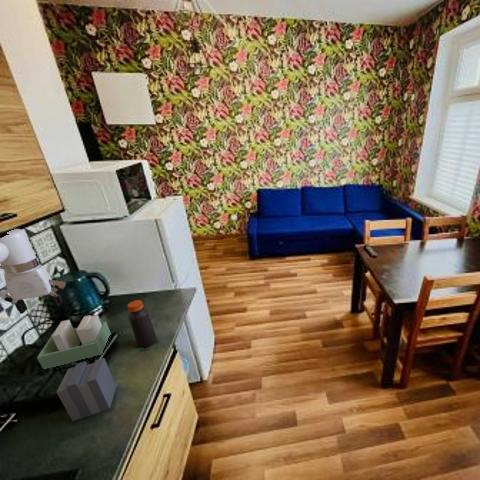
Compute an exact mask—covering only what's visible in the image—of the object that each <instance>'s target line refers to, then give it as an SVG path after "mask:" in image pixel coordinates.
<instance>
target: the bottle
mask: <svg viewBox="0 0 480 480" xmlns="http://www.w3.org/2000/svg"><path fill="white" fill-rule="evenodd" d="M127 309H128V312H129V314H128V316H127V317H128V321H129V324H130V326H131V330H132V333H133V337H134V339H135V341H136V344H137V346H138V348H141V349H147V348H150V347H152V346H153V345H154V344H155V343H156V342H157V339H158V338H157V335H156V332H155V329H154V325H153V322H152V319H151V316H150V313H149V310H148V309H147V308H144V303H143V301H142V300H140V299H136V300H133V301H130V302H129V303H128V304H127Z"/></svg>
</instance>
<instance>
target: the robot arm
mask: <svg viewBox="0 0 480 480" xmlns="http://www.w3.org/2000/svg"><path fill="white" fill-rule="evenodd" d="M13 229H14V230H11V231H9V232H7V234H9V235H6V236H4V237H2V238H0V270H5V272H4V274H3V276H4V282H5V287H6V289H4V290H2V291H1V292H0V298H1V299H2V300H4V302H8V303H11V305H14V307H15V308H16V310H17V311H18V312H19V314H20V315H22V314H24V313H25V312H27V310H28V306H27V304H26V302H25V300H27V299H32V298H39V297H44V296H48V295H49V296H51V297H52V301H53V303H54V305H55V308H59V307H60V306H61V305H62V304H63V301H64V300H63V298H62V295H61V293H62V292H63V291H64V290H65V287H66V284H67V283H66V282H65V281H61V280H55V279H52V277H51V275H50V274H49V272H48V271H47V269H46V268H45V267H44V265H43V264H40V263H39V261H38V258H37V256H36V253H35V251H34V249H33V246H32V244H31V242H30V240H29V237H28V234H27V233H26V231H25V230H23V229H20V228H13ZM1 263H2V264H1ZM55 286H57V287H58V288H56V287H55Z"/></svg>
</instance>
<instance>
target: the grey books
mask: <svg viewBox="0 0 480 480" xmlns="http://www.w3.org/2000/svg"><path fill="white" fill-rule="evenodd" d="M94 360H95V361H94V362H93V363H90V364H89V363H87V361H83V362H80V363H76V364H75V366H73V367H70V368H68V369H67V370H66V373H65V374H64V377H63V378H62V381H61V382H60V384H59V386H58V388H57V390H56V394H57V396H58V397H59V398H58V399H60V401H61V403H62V405H63V407H64V408H65V409H64V410H66V413H67V414H68V416H69V418H70V419H71V421H72V422H75V421H78V420H80V419H84V418H87V417H90V416H94V415H97V414H99V413H103V412H106V411H108V410H110V409H111V407H112V403H113V399H114V396H115V392H116V389H117V384H116V382H115V379H114V377H113V375H112V372H111V370H110V368H109V365H108V363H107V361H106V358H105V357H101V358H97V359H94Z"/></svg>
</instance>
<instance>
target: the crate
mask: <svg viewBox="0 0 480 480" xmlns="http://www.w3.org/2000/svg"><path fill="white" fill-rule="evenodd" d="M100 322H101V324H102V327H101V329H100V331H99V334H98V336H97V338H96V340H95V342H93V343H89V344H85V345H81V346H77V347H73V348H69V349H65V350H61V351H58V348H57V346H56V344H55V342H54V340H53V338H52V335H53V333H52V334H51V336H50V337H49V339H48V340H47V342H46V343H45V345H44V346H43V347H42V349H41V350H40V352H39V354H38V355H37V357H36V359H37V361H38V362H39V364H40V366H41V368H42V370H43V369H47V368H51V367H56V366H60V365H64V364H68V363H71V362H73V361H78V360H81V359H85V358H90V357H93V356H97V355H101V354H102V353H103V350H104V348H105V346H106V343H107V341H108V338H109V336H110V335H112V332H111V331H110V328H109V325H108V323H107V321H100ZM77 328H78V327H75V328H73V329H74V331H75V333H76V336H77V338H78V340H79V342H81V340H80V338H79V336H78V334H77V332H76V330H77ZM110 337H111V336H110ZM109 339H110V338H109ZM108 342H109V341H108ZM107 344H108V343H107ZM106 347H107V346H106Z"/></svg>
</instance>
